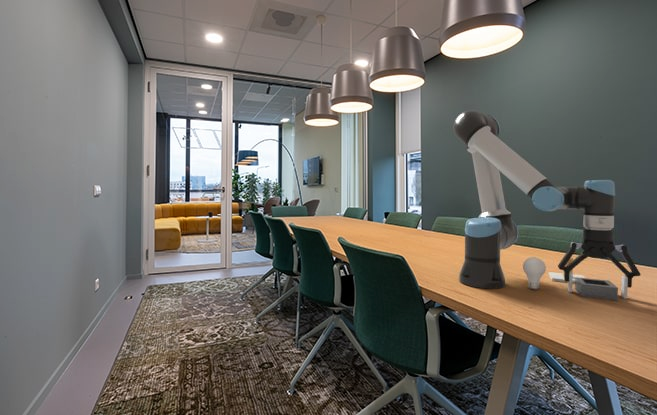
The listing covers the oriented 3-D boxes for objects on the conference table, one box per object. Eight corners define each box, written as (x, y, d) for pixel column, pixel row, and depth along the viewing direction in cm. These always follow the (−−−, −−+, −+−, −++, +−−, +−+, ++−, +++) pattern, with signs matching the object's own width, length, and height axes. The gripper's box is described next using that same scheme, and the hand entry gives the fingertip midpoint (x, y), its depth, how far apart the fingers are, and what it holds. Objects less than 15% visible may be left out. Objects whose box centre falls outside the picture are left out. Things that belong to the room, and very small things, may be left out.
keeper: (552, 280, 120) (552, 259, 120) (548, 274, 129) (549, 254, 129) (589, 284, 115) (590, 262, 115) (583, 277, 124) (583, 257, 123)
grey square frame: (580, 296, 103) (580, 284, 102) (574, 288, 111) (575, 277, 110) (617, 300, 98) (618, 287, 98) (608, 292, 106) (609, 280, 106)
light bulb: (543, 288, 111) (544, 256, 111) (547, 293, 105) (548, 260, 105) (521, 285, 114) (521, 254, 114) (523, 291, 108) (524, 258, 108)
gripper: (552, 228, 106) (550, 292, 107) (656, 231, 94) (653, 303, 95) (549, 225, 112) (547, 286, 113) (646, 229, 101) (643, 296, 102)
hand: (596, 294), depth 104 cm, fingers open, 13 cm apart
